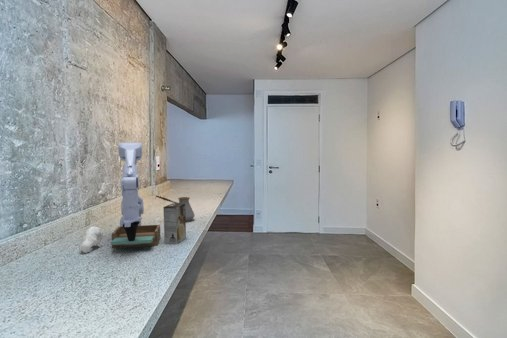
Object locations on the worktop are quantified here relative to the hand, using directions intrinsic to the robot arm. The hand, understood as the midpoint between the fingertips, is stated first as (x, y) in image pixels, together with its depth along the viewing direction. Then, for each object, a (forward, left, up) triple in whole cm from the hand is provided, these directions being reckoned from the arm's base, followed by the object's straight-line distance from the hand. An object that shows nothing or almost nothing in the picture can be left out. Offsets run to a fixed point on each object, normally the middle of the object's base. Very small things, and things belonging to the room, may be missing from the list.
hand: (131, 240), depth 126 cm
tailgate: (-4, +5, -1) cm, 6 cm away
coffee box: (+6, +19, -5) cm, 21 cm away
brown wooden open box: (-7, +10, -4) cm, 13 cm away
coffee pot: (-18, +49, -5) cm, 52 cm away
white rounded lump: (-18, -5, -5) cm, 19 cm away
